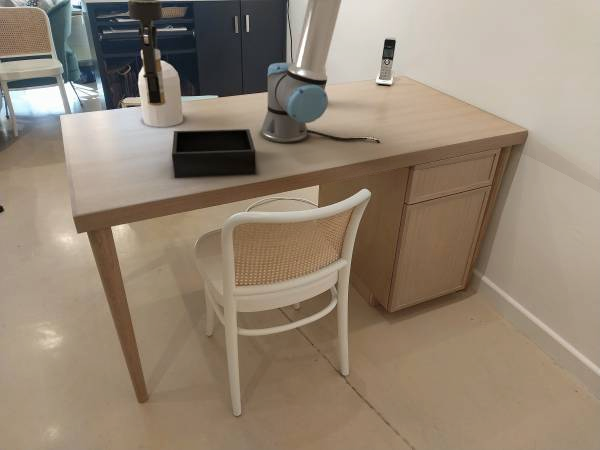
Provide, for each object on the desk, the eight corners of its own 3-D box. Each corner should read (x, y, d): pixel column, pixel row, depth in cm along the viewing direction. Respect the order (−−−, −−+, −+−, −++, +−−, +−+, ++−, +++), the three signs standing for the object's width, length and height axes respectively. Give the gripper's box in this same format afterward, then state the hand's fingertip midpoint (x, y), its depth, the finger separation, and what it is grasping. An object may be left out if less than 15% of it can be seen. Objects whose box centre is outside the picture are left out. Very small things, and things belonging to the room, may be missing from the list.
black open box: (249, 150, 139) (249, 129, 135) (255, 174, 126) (255, 151, 122) (176, 153, 135) (173, 130, 131) (174, 177, 122) (171, 154, 118)
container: (180, 112, 164) (175, 55, 153) (186, 125, 153) (180, 65, 142) (142, 114, 159) (133, 56, 148) (145, 128, 149) (136, 66, 138)
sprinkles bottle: (162, 99, 120) (156, 47, 113) (168, 105, 117) (162, 51, 110) (145, 102, 118) (138, 48, 111) (150, 107, 115) (143, 52, 108)
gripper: (159, 6, 98) (169, 110, 111) (162, -4, 112) (172, 89, 125) (122, 5, 96) (137, 111, 109) (131, -6, 110) (143, 89, 123)
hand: (156, 99), depth 117 cm, fingers closed on sprinkles bottle, 4 cm apart
